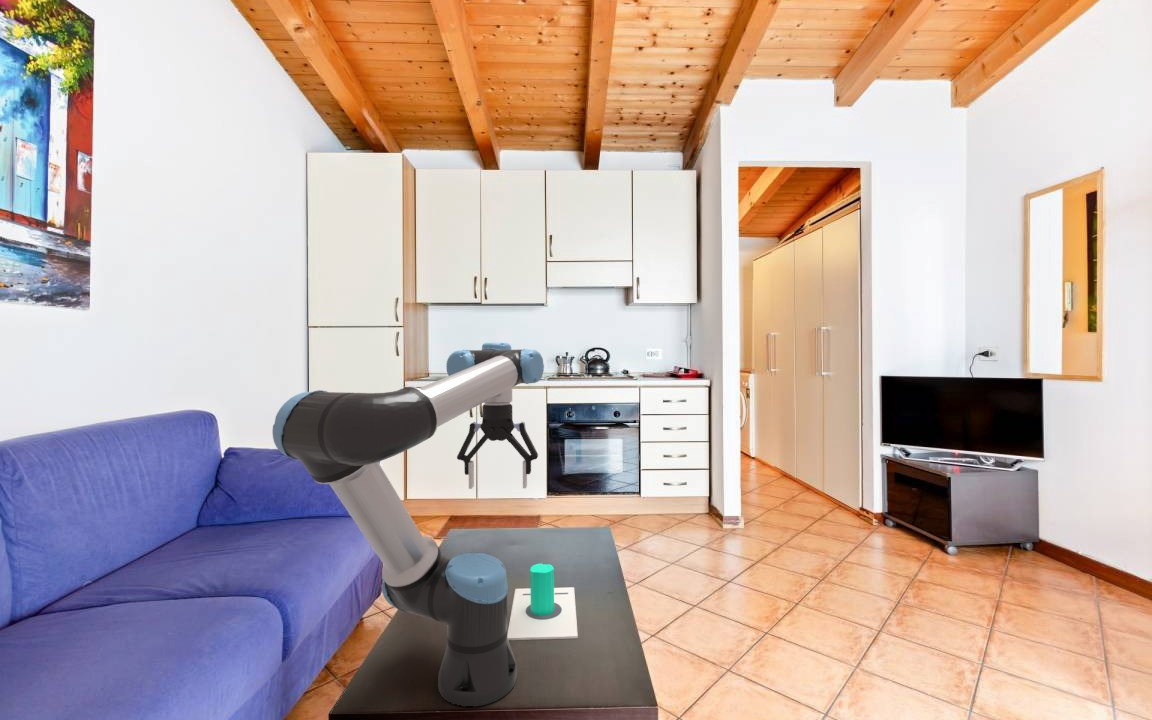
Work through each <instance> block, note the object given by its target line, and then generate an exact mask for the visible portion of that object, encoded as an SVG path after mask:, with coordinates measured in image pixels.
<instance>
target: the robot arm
mask: <svg viewBox="0 0 1152 720" xmlns="http://www.w3.org/2000/svg"><path fill="white" fill-rule="evenodd" d="M445 367H446V372H447V375H448V376H446V377H445V376H444V377H443V378H440V379H438V380H436V381H433V382H431V383H429V384H426V385H424V386H421V387H419V388H418V387H415V386H405V387H404V388H401V389H398V390H394V391H386V392H338V391H337V392H331V391H327V390H320V389H319V390H318V389H317V390H313V391H305V392H301V393H298V394H295V395H293V396H292V397H290V398H289V399H287V400H286V401H285V402H284V404H282V405H281V407H280V408H279V410H278V411H277V413H276V415H275V418H274V424H273V425H272V439H273V443H274V445H275V447H276V449H277V450H278V451H279V452H280V453H281V454H282V455H284V456H286V457H287V458H289V459H291V460H299V462H301V463H302V465H303V467H304V468H305V469H306V471H307V472H308V474H309V475H310V476H311V478H312V479H313V481H314V482H315V483H317V484H320V485H329V486H330V487H331V489H332V491H333V492H334V494H335V495H336V496H337V497H338V499H339V501H340V502H341V504H342V505H343V507H344V508H345V510H346V511H347V512H348V514H349V516H350V517H351V518H352V519H353V521H354V523H355V524H356V526H357V528H358V529H359V530H360V532H361V533H362V535H363V536H364V537H365V539H366V540H367V542H368V543H369V545H370V546H371V547H372V549H373V550H374V553H376V555H377V556H378V558H379V559H380V561H381V562H382V564H383V566H382V569H381V580H382V584H380V585H381V592H382V595H383V599H384V600H385V601H386V602H387V604H389V605H390V606H392V607H394V608H395V609H397V610H398V611H400V612H404V613H408V614H409V613H410V614H413V615H417V616H419V617H423V618H427V619H430V620H434V621H436V622H440V623H442V624H445V625H446V638H447V640H446V641H447V645H446V648H445V651H444V654H443V657H442V662H441V665H440V667H439V670H438V675H437V676H438V677H437V678H438V679H437V683H438V684H437V686H438V689H437V690H438V692H440V693H439V695H440V694H441V695H440V696H441V697H442V699H444V700H445V701H446V700H447V701H446V702H448V703H450V702H451V703H450V704H452V705H455V704H457V705H456V706H459V705H461V707H466V706H473V707H481V706H485V705H489V704H492V703H494V702H496V701H498V700H501V699H503V698H504V697H505V696H506V695H508V694H509V693H510V691H511V690H513V689H514V687H515V685H516V683H517V679H518V678H517V677H518V675H517V673H518V669H517V662H516V658H515V655H514V653H513V650H512V647H511V644H510V640H508V637H507V633H508V592H509V585H508V584H509V583H508V581H507V580H508V579H507V569H506V567H505V565H504V564H503V561H501V560H500V559H498V558H497V557H495V556H493V555H490V554H488V553H482V552H475V553H472V552H467V553H466V552H465V553H461V554H458V555H455V556H453V557H452V558H450V557H446V556H445V555H444V554H443V552H442V550H441V549H440V547H439V545H438V544H437V542H436V541H435V540H434V539H433V538H431V537H429V536H423V535H422V533H421V531H420V529H419V528H418V526H417V524H416V522H415V521H414V519H413V518H412V516H411V514H410V513H409V511H408V510H407V507H406V506H405V504H404V503H403V501H402V499H401V498H400V496H399V494H398V493H397V490H396V489H395V488H394V486H393V484H392V482H391V481H390V480H389V477H388V476H387V474H386V472H385V471H384V469H383V467H382V466H381V464H380V463H379V462H382V461H384V460H388V459H390V458H392V457H394V456H397V455H399V454H401V453H404V452H405V451H408V450H410V449H412V448H414V447H416V446H418V445H419V444H421V443H423V442H425V441H427V440H429V439H431V438H432V437H433V436H434V435H435V433H436V432H437V430H438V427H440V426H442V425H445V424H446V423H448V422H449V421H451V420H453V419H455V418H457V417H459V416H461V415H463V414H464V413H467V412H469V411H470V410H472V409H474V408H476V407H478V406H479V405H481V404H483V405H482V408H481V409H482V417H481V418H482V422H481V423H476V422H475V421H473V422H471V423H470V424H469V427H468V429H469V430H468V433H467V436H466V438H465V439H464V442H463V444H462V446H461V448H460V449H459V452H458V454H457V456H456V459H457V460H458V461H463V463H464V474H465V476H466V475H467V476H468V489H469V490H470V489H471V490H472V489H473V488H474V486H475V464H474V463H475V461H474V460H472V458H473V457H474V456H475V454H476V453H477V452H478V451H479V450H480V449H481V448H482V447H483V445H484V444H485V443H486V441H488V440H490V441H492V442H495V441H499V442H502V441H505V440H506V441H507V442H508V443H509V444H511V446H512V447H513V448H514V449H515V450H516V451H517V452H518V454H519V455H520V456H521V458H522V459H523V461H522V489H527V487H528V475H531V473H532V461H534V460H537V459H538V457H539V453H538V452H537V450H536V447H535V445H534V444H533V442H532V440H531V438H530V436H529V434H528V432H527V430H526V423H525V422H524V421H521V422H518V423H517V422H516V423H514V421H513V404H511V403H512V402H513V387H516V386H518V385H520V384H525V385H529V384H536V383H538V382H539V381H540V380H541V379H542V378H543V375H544V371H545V368H544V367H545V364H544V358H543V357H542V354H541V353H540V352H539V351H538V350H535V349H528V348H522V349H512V345H511V344H510V343H509V342H484V343H482V345H481V349H478V350H475V349H474V350H473V349H472V350H471V349H469V350H468V349H462V350H460V349H459V350H455V351H453V352H451V354H450V355H449V356H448V357H447V361H446V366H445ZM479 429H480V430H481V431H482V432H483V435H482V437H481V438H480V439H479V441H477V443H476V444H475V446H473V448H472V449H471V450H470V452H469V453H468V454H466V453H467V450H468V449H469V447H470V444H471V442H472V440H473V439H474V436H475V434H476V433H477V432H478V431H479ZM514 429H516V431H517V432H519V433H520V435H521V439H523V442H524V443H525V445H526V447H527V450H528V451H527V450H526V449H525V448H524V447H523V446H522V444H521V443H520V442H519V441H518V440H517V438H516V437H515V435H513V433H512V432H513V431H514ZM528 452H529V453H528ZM462 705H463V706H462Z"/></svg>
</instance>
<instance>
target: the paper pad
mask: <svg viewBox="0 0 1152 720" xmlns="http://www.w3.org/2000/svg"><path fill="white" fill-rule="evenodd" d="M512 600H513V601H512V606H511V611H510V612H511V613H510V619H509V624H508V627H507V637H508V641H527V640H528V641H529V640H562V639H563V640H567V639H568V640H569V639H579V637H578V636H579V635H578V623H577V608H576V596H575V587H574V586H573V587H554V612H553V613H552V614H549V615H547V616H537V615H534V614H533V613H531V587H530V588H515V590H514V595H513V599H512Z"/></svg>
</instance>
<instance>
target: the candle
mask: <svg viewBox="0 0 1152 720" xmlns="http://www.w3.org/2000/svg"><path fill="white" fill-rule="evenodd" d="M554 571H555V568H554V566H553V565H552V564H549V563H548V564H546V563H544V564H543V563H537V564H533V565H532V566H531V567H530V570H529V573H530V577H529V579H530V588H531V613H533V614H534V615H537V616H547V615H549V614H552V613H553V612H554V588H555V572H554Z"/></svg>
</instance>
